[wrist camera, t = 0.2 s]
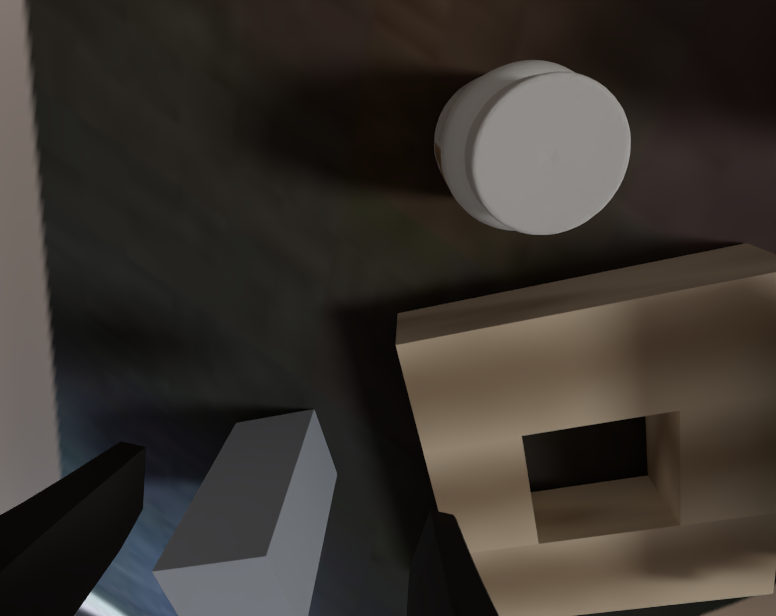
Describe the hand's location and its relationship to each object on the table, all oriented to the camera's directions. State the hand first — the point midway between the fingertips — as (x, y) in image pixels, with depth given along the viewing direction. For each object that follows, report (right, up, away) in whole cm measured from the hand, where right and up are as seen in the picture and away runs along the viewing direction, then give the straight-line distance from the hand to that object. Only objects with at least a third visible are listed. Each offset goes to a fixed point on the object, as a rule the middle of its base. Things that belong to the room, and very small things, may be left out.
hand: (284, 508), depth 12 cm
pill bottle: (+7, +11, +6) cm, 14 cm away
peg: (-2, -2, +12) cm, 12 cm away
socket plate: (+12, -1, +10) cm, 16 cm away
